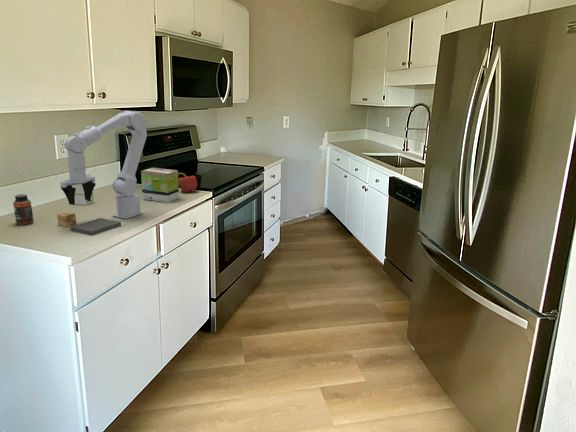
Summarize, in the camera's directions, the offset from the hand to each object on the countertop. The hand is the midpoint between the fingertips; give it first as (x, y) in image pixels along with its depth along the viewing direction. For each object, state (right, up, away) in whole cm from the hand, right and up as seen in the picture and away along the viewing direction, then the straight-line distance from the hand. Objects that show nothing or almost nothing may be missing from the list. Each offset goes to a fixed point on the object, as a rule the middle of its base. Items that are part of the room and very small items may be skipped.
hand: (80, 202), depth 167 cm
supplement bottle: (-22, -8, +1) cm, 24 cm away
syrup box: (-14, 0, +32) cm, 35 cm away
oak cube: (-5, -9, +1) cm, 10 cm away
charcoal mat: (+7, -10, -2) cm, 13 cm away
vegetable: (+28, +8, +62) cm, 68 cm away
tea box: (+18, +3, +44) cm, 48 cm away
